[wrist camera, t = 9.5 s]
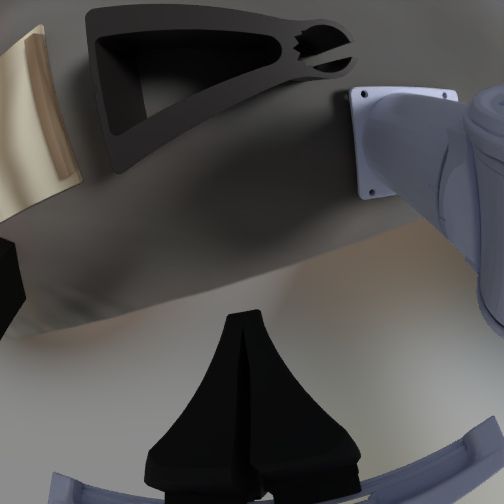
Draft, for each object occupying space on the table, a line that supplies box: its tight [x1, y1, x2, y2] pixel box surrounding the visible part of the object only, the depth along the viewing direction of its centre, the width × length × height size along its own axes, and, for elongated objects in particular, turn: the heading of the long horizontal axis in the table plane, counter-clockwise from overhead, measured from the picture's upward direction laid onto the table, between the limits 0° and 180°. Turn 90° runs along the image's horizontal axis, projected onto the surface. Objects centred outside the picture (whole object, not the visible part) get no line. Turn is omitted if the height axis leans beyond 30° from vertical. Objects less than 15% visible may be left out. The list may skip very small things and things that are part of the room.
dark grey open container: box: [85, 4, 357, 174], centre depth 12 cm, size 9×6×12 cm
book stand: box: [0, 25, 83, 223], centre depth 14 cm, size 12×14×2 cm
